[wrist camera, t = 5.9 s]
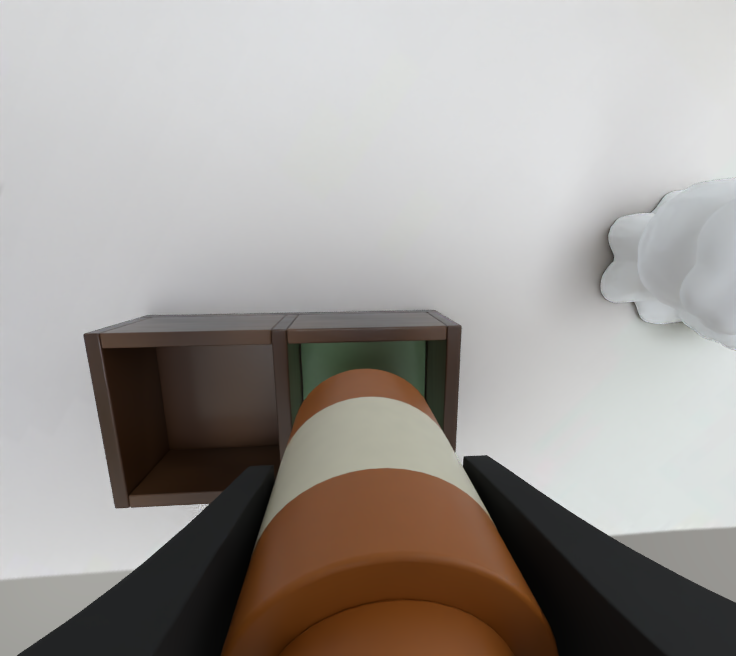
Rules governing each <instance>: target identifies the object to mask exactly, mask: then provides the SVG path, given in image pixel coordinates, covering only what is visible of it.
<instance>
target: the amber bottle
mask: <svg viewBox="0 0 736 656" xmlns="http://www.w3.org/2000/svg"><path fill="white" fill-rule="evenodd" d="M220 656H559V654H558V649H557V645H556V640H555V637H554V635H553V632H552V630H551V627H550V625H549V623H548V621H547V619H546V617H545V615H544V614H543V612H542V610H541V608H540V606H539V605H538V603H537V601H536V599H535V597H534V596H533V594H532V592H531V590H530V588H529V587H528V585H527V583H526V581H525V579H524V578H523V576H522V574H521V572H520V570H519V568H518V567H517V565H516V563H515V561H514V559H513V558H512V556H511V554H510V552H509V550H508V549H507V547H506V545H505V543H504V541H503V540H502V538H501V536H500V534H499V532H498V530H497V528H496V526H495V524H494V522H493V520H492V519H491V517H490V515H489V513H488V511H487V510H486V508H485V506H484V504H483V502H482V501H481V499H480V497H479V495H478V493H477V492H476V490H475V488H474V486H473V484H472V483H471V481H470V479H469V477H468V475H467V474H466V472H465V470H464V468H463V466H462V465H461V463H460V461H459V459H458V457H457V456H456V454H455V452H454V450H453V448H452V447H451V445H450V443H449V441H448V439H447V438H446V436H445V434H444V433H443V431H442V429H441V427H440V426H439V424H438V422H437V420H436V418H435V417H434V415H433V413H432V411H431V409H430V408H429V406H428V404H427V402H426V401H425V399H424V397H423V396H422V395H421V394H420V392H419V391H418V390H417V389H416V388H415V387H414V386H413V385H412V384H410V383H409V382H407V381H406V380H405V379H403V378H401V377H399V376H397V375H395V374H392V373H389V372H386V371H382V370H377V369H355V370H349V371H345V372H342V373H339V374H337V375H334V376H332V377H330V378H328V379H327V380H325V381H323V382H322V383H321V384H319V385H318V386H317V387H315V388H314V389H313V390H312V391H311V392H310V393H309V395H308V396H307V397H306V399H305V400H304V401H303V403H302V405H301V406H300V408H299V410H298V413H297V415H296V418H295V421H294V424H293V428H292V431H291V434H290V437H289V440H288V443H287V447H286V450H285V453H284V455H283V458H282V461H281V464H280V467H279V470H278V474H277V477H276V480H275V483H274V486H273V489H272V492H271V496H270V499H269V502H268V505H267V508H266V511H265V514H264V518H263V521H262V524H261V527H260V530H259V533H258V536H257V540H256V543H255V546H254V549H253V552H252V555H251V560H250V563H249V567H248V570H247V573H246V576H245V579H244V582H243V586H242V589H241V592H240V595H239V598H238V601H237V604H236V608H235V611H234V614H233V617H232V620H231V623H230V627H229V630H228V633H227V636H226V639H225V642H224V646H223V649H222V652H221V655H220Z"/></svg>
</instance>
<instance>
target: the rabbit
mask: <svg viewBox="0 0 736 656" xmlns="http://www.w3.org/2000/svg"><path fill="white" fill-rule="evenodd" d="M608 241H609V244H610V247H611V249H612V252H613V254H614V261H613V262H612V263H611V264H610V265H609V266H608V268H607V270H606V271H605V272H604V274H603V275H602V279H601V284H600V285H601V287H600V288H601V293H602V294H603V296H604V298H605V299H606V300H608V301H610V302H613V303H624V302H635V304H636V307H637V311H638V313H639V316H640V317H641V318H642V320H644V321H646V322H648V323H654V324H667V323H673V322H682V321H683V323H684V324H685V325H687V326H688V327H690V328H691V329H693V330H695V331H696V332H697V333H698V334H699V335H700V336H702V337H704V338H706V339H709V340H713V341H715V342H718V343H721V344H722V345H723V346H725V347H727V348H730V349H733V350H736V177H735V178H727V179H719V180H712V181H705V182H700V183H696V184H694V185H692V186H690V187H689V188H687V189H686V190H678V191H673V192H670V193H668V194H666V195H665V196H664V197H663V199H662V200H661V201H660V203H659V204H658V206H657V207H656V208H655V209H654V210H653V211H652V212H651V213H639V214H631V215H627V216H623V217H620V218H618V219H617V220H616V221H615V223H614V224H613V225H612V226H611V228H610V232H609V234H608Z"/></svg>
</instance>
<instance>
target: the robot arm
mask: <svg viewBox="0 0 736 656" xmlns="http://www.w3.org/2000/svg"><path fill="white" fill-rule="evenodd" d="M463 468H464V470H465V472H466V474H467V475H468V477H469V479H470V481H471V483H472V484H473V486H474V488H475V490H476V492H477V493H478V495H479V497H480V499H481V501H482V502H483V504H484V506H485V508H486V510H487V511H488V513H489V515H490V517H491V519H492V520H493V522H494V524H495V526H496V528H497V530H498V532H499V534H500V536H501V538H502V540H503V541H504V543H505V545H506V547H507V549H508V550H509V552H510V554H511V556H512V558H513V559H514V561H515V563H516V565H517V567H518V568H519V570H520V572H521V574H522V576H523V578H524V579H525V581H526V583H527V585H528V587H529V588H530V590H531V592H532V594H533V596H534V597H535V599H536V601H537V603H538V605H539V606H540V608H541V610H542V612H543V614H544V615H545V617H546V619H547V621H548V623H549V625H550V627H551V630H552V632H553V635H554V637H555V640H556V645H557V649H558V654H559V656H736V603H735V602H733V601H731V600H729V599H727V598H724V597H722V596H720V595H718V594H716V593H714V592H712V591H710V590H708V589H706V588H704V587H702V586H700V585H698V584H696V583H694V582H692V581H690V580H688V579H686V578H684V577H682V576H680V575H678V574H676V573H675V572H673V571H671V570H669V569H667V568H665V567H663V566H661V565H660V564H658V563H656V562H654V561H652V560H651V559H649V558H647V557H645V556H643V555H641V554H640V553H638V552H636V551H634V550H632V549H631V548H629V547H627V546H625V545H624V544H622V543H620V542H618V541H617V540H615V539H613V538H612V537H610V536H608V535H607V534H605V533H604V532H602V531H600V530H599V529H597V528H595V527H594V526H592V525H590V524H589V523H587V522H586V521H584V520H582V519H581V518H579V517H578V516H576V515H575V514H573V513H571V512H570V511H568V510H567V509H565V508H564V507H562V506H561V505H559V504H558V503H556V502H555V501H553V500H552V499H550V498H549V497H547V496H546V495H544V494H543V493H541V492H540V491H538V490H537V489H536V488H534V487H533V486H531V485H530V484H528V483H527V482H525V481H524V480H523V479H521V478H520V477H518V476H517V475H515V474H514V473H513V472H511V471H510V470H508V469H507V468H505V467H504V466H502V465H501V464H499V463H498V462H496V461H495V460H493V459H492V458H490V457H488V456H487V455H485V456H464V459H463ZM274 483H275V477H274V465H265V466H249V467H248V468H247V469H246V470H244V471H243V472H242V473H241V474H240V475H239V476H238V477H237V478H236V479H235V480H234V481H233V482H232V483H231V484H230V485H229V486H228V487H227V488H226V489H225V490H224V491H223V492H222V493H221V494H220V495H219V496H218V497H217V498H216V499H215V500H213V501H212V502H211V503H210V504H209V505H208V506H207V507H206V508H205V509H204V510H203V511H202V512H201V513H200V514H199V515H198V516H197V517H195V518H194V519H193V520H192V521H191V522H190V523H189V524H188V525H187V526H186V527H184V528H183V529H182V530H181V531H180V532H179V533H178V534H176V535H175V536H174V537H173V538H172V539H171V540H169V541H168V542H167V543H166V544H165V545H164V546H163V547H161V548H160V549H159V550H158V551H157V552H156V553H154V554H153V555H152V556H151V557H150V558H149V559H147V560H146V561H145V562H144V563H143V564H141V565H140V566H139V567H138V568H137V569H135V570H134V571H133V572H132V573H130V574H129V575H128V576H127V577H125V578H124V579H123V580H122V581H120V582H119V583H118V584H117V585H115V586H114V587H112V588H111V589H110V590H108V591H107V592H106V593H105V594H103V595H102V596H101V597H99V598H98V599H97V600H95V601H94V602H93V603H91V604H90V605H89V606H87V607H86V608H85V609H84V610H82V611H81V612H79V613H78V614H77V615H75V616H74V617H72V618H71V619H69V620H68V621H67V622H65V623H64V624H62V625H61V626H59V627H58V628H56V629H55V630H54V631H52V632H51V633H49V634H48V635H46V636H45V637H43V638H42V639H40V640H39V641H37V642H36V643H35V644H33V645H32V646H30V647H29V648H27V649H26V650H24V651H23V652H21V653H20V654H18V655H17V656H220V655H221V652H222V649H223V646H224V642H225V639H226V636H227V633H228V630H229V627H230V623H231V620H232V617H233V614H234V611H235V608H236V604H237V601H238V598H239V595H240V592H241V589H242V586H243V582H244V579H245V576H246V573H247V570H248V567H249V563H250V560H251V555H252V552H253V549H254V546H255V543H256V540H257V536H258V533H259V530H260V527H261V524H262V521H263V518H264V514H265V511H266V508H267V505H268V502H269V499H270V496H271V492H272V489H273V486H274Z"/></svg>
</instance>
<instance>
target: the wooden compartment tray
mask: <svg viewBox="0 0 736 656" xmlns="http://www.w3.org/2000/svg"><path fill="white" fill-rule="evenodd" d="M84 341H85V346H86V352H87V357H88V363H89V368H90V373H91V379H92V384H93V390H94V395H95V401H96V406H97V411H98V417H99V422H100V428H101V433H102V439H103V444H104V449H105V455H106V460H107V466H108V471H109V477H110V482H111V487H112V493H113V498H114V504H115V508H129V507H131V508H133V507H152V506H172V505H191V504H210V503H211V502H212V501H213V500H215V499H216V498H217V497H218V496H219V495H220V494H221V493H222V492H223V491H224V490H225V489H226V488H227V487H228V486H229V485H230V484H231V483H232V482H233V481H234V480H235V479H236V478H237V477H238V476H239V475H240V474H241V473H242V472H243V471H244V470H246V469H247V468H248V467H249V466H265V465H274V477H275V480H276V477H277V474H278V470H279V467H280V464H281V461H282V458H283V455H284V453H285V450H286V447H287V443H288V440H289V437H290V434H291V431H292V428H293V424H294V421H295V418H296V415H297V413H298V410H299V408H300V406H301V405H302V403H303V401H304V400H305V399H306V397H307V396H308V395H309V393H310V392H311V391H312V390H313V389H314V388H315V387H317V386H318V385H319V384H321V383H322V382H323V381H325V380H327V379H328V378H330V377H332V376H334V375H337V374H339V373H342V372H345V371H349V370H355V369H377V370H382V371H386V372H389V373H392V374H395V375H397V376H399V377H401V378H403V379H405V380H406V381H407V382H409V383H410V384H412V385H413V386H414V387H415V388H416V389H417V390H418V391H419V392H420V394H421V395H422V396H423V397H424V399H425V401H426V402H427V404H428V406H429V408H430V409H431V411H432V413H433V415H434V417H435V418H436V420H437V422H438V424H439V426H440V427H441V429H442V431H443V433H444V434H445V436H446V438H447V439H448V441H449V443H450V445H451V447H452V448H453V450H454V452H456V431H457V410H458V390H459V369H460V348H461V325H459V324H457V323H456V322H454V321H452V320H451V319H449V318H447V317H446V316H444V315H442V314H441V313H439V312H437V311H435V310H416V311H363V312H309V313H256V314H202V315H149V316H143V317H140V318H136V319H133V320H129V321H126V322H122V323H119V324H116V325H112V326H109V327H105V328H102V329H98V330H95V331H92V332H88V333H85V334H84Z"/></svg>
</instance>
